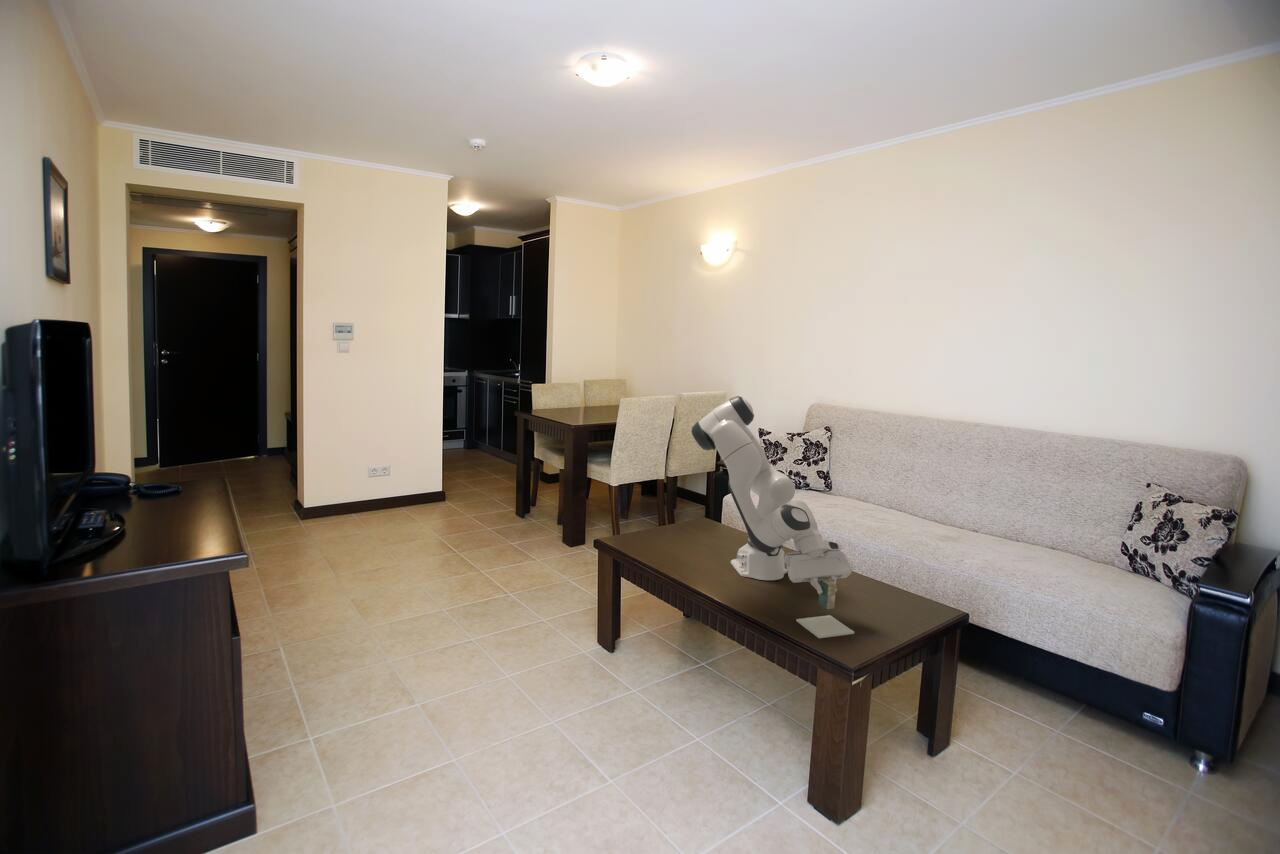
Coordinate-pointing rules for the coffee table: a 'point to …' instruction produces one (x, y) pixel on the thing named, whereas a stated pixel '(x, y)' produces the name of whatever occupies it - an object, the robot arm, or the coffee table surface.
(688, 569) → the coffee table surface
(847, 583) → the coffee table surface
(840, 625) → the sage mat
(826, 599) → the card deck block
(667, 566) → the coffee table surface
